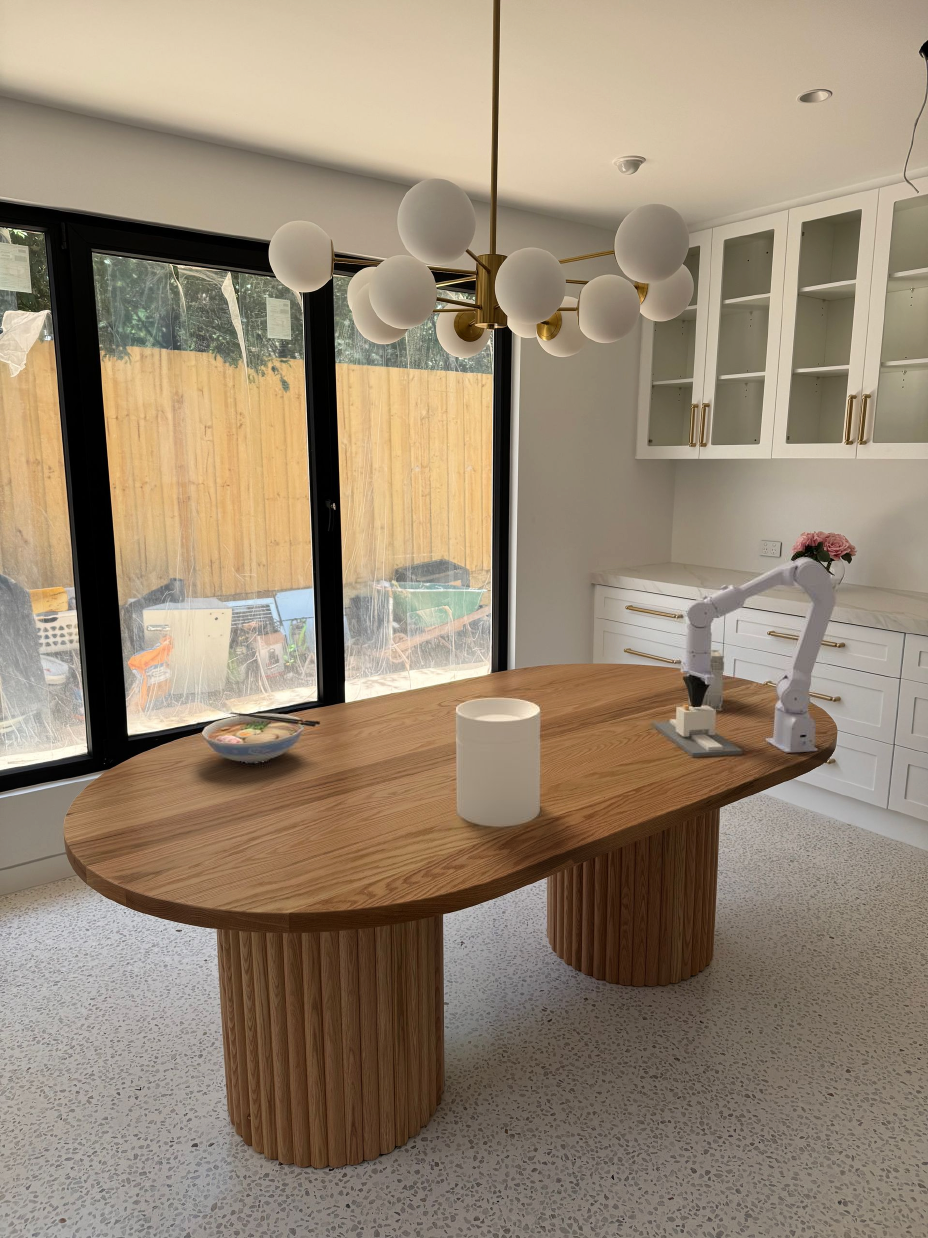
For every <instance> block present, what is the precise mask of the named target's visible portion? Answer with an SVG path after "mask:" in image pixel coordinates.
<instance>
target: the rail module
mask: <svg viewBox="0 0 928 1238" xmlns="http://www.w3.org/2000/svg"><path fill="white" fill-rule="evenodd" d="M675 708H676V711H675V712H676V713H675V716H676V717H675V719H676V732H678V733H679V734H680V735H682V736H683V737H686V736H689V730H702V729H703V731H704V732H705V733H707V734H708V735H715V732H716V717H717V716H716V715H717V710H714V709H713V708H711V707H709V706H708V705H707V706H701V707H692V706H691V705H688V704H682V706H676V707H675Z"/></svg>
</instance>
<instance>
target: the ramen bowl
mask: <svg viewBox="0 0 928 1238" xmlns="http://www.w3.org/2000/svg"><path fill="white" fill-rule="evenodd" d="M229 714H231V715H236V716H232V717H228V718H224V719H221V720H217V721H214V722H213V723H211V724H208V725H207V726H205V727H204V728H203V730H202V732H201V735H202V736H203V739H204V740H205V741H206V742H207V744H208V745H209V747H211V748H212V749H213V751H214V752H215V753H217V754H218V755H219V756H221V757H223V758H225V759H229V760H231V761H233V762H234V761H235V762H240V761H241V762H240V763H243V762H247V763H246V764H248V763H255V762H262V761H266V760H268V761H270V760H272V759H274V758H276V757H279V756H282V755H283V754H284V753H286V752H287V751H288V750H289V749H291V748H293V747H294V746H295V745H296V743H297V742H298V740H299V739H300V737H301V735H302V733H303V730H304V729H305V726H307V727H312V728H313V727H316V726H317V725H318V726H319V725H321V721H319V720H310V719H301V718H300V717H296V716H293V715H290V714H283V713H281V714H279V713H255V714H254V713H252V714H251V713H242V712H241V713H240V712H233V711H232V712H229ZM271 758H272V759H271ZM269 759H270V760H269ZM266 762H267V761H266ZM262 763H263V762H262ZM255 764H256V763H255Z"/></svg>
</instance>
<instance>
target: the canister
mask: <svg viewBox="0 0 928 1238" xmlns="http://www.w3.org/2000/svg"><path fill="white" fill-rule="evenodd" d="M455 708H456V709H455V733H456V736H455V738H456V739H455V741H456V743H455V745H456V747H455V748H456V759H455V760H456V813H457V814H458V815H459V817H460V818H462V819H464V820H465V821H467V822H469V823H471V824H474V825H475V824H476V825H479V826H485V827H486V826H487V827H491V828H492V827H493V828H494V827H495V828H496V827H497V828H498V827H500V828H501V827H502V828H503V827H512V826H520V825H523V824H525V823H528V822H531V821H533V820H534V819H535V818H537V817H538V815H539V813H540V811H541V810H540V809H541V806H540V805H541V804H540V803H541V801H540V800H541V799H540V798H541V793H540V792H541V790H540V789H541V737H540V736H541V734H540V733H541V709H540V706H539V705H537V704H536V703H534V702H532V701H531V702H530V701H528V700H522V699H518V698H509V697H488V698H487V697H486V698H478V699H472V700H467V701H465V702H463V703H460V704H458V705H457V706H456V707H455Z"/></svg>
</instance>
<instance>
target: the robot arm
mask: <svg viewBox="0 0 928 1238" xmlns="http://www.w3.org/2000/svg"><path fill="white" fill-rule="evenodd" d="M795 583H796V584H797V585H799V586H800V587H801V588H802V589H803V591H804V593H805V594H806V595H807V597H808V600H810V604H809V607H808V609H807V613H806V615H805V619H804V621H803V625H802V629H801V631H800V633H799V637H798V640H797V643H796V645H795V649H794V651H793V654H792V658H791V660H790V663H789V666H788V667H787V668H786V669H785V671H784V674H783V676H782V677H781V679H779V680H778V681H777V682H776V685H775V693H776V694H775V695H776V696H777V697H778V698H779V700H778V701H777V702H776V704H775V705H774V721H773V722H774V724H773V737H767V738H765V741H766V742H768V743H769V744H770V745H773V746H774V747H776V748H777V749H779V750H781V751H782V752H784V753H787V754H789V753H804V752H817V751H818V748H817V747H815V739H816V722H815V720H814V718H812V717H811V715H810V714H809V707H808V706H809V704H810V702H811V695H810V688H811V685H812V674H813V670H814V668H815V663H816V661H817V658H818V655H819V652H820V649H821V646H822V643H823V640H824V637H825V634H826V631H827V630H828V629H827V628H828V626H829V623H830V621H831V617H832V614H833V611H834V608H835V606H836V602H837V597H836V594H835V591H834V588H833V584H832V581H831V574H830V573H829V571H828V570H827V569H826V568H825V567H824V566H823V565H822V564H821V563H820V562H818V561H815V560H814V559H813V558H811V557H807V556H806V557H805V556H802V557H799V558H797V559H795V560H793V561H788V562H786V563H783V564H781V565H778V566H777V567H774V568H772V569H771V570H769V571H767V572H766V573H763V574H761V575H759V576H758V577H756V578H753V579H752V580H750V581H749V582H745V583H744V584H742V585H740V586H737V585H735V584H730V585H728V586H727V584H724V585H721V586H720V590H717V591H715V592H714V593H713V592H712V593H711V594H709V595H706V594H703V595H702V597H701V598H702V599H701V600H700V599H698V600H694V601H691V603H690V604H689V605H688V606H687V608H686V609H687V610H686V616H687V618H688V620H687V621H688V622H687V630H686V643H685V661H684V662H681V663H680V673H681V674H686V676H682V680H683V681H684V684H685V687H686V690H687V693H688V700H689V699H690V703H689V705H690V704H691V705H690V706H692V707H701V706H702V703H703V699H704V696H705V693H706V691H707V689H708V687H709V686H710V684H715V676H714V675H713V674H712V671H711V669H710V661H711V650H712V639H713V638H712V636H713V634H712V631H711V630H712V623H714V622H713V621H714V619H719V618H721V617H724V616H725V615H728V614H730V613H733V612H734V611H737V610H738V609H740V608H743V607H744V605H745V603H746V600H747V599H749V598H752V597H754V596H757V595H759V594H761V593H763V592H765V591H768V590H770V589H773V588H775V587H777V586H788V587H795ZM687 674H689V675H688V676H687Z"/></svg>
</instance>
